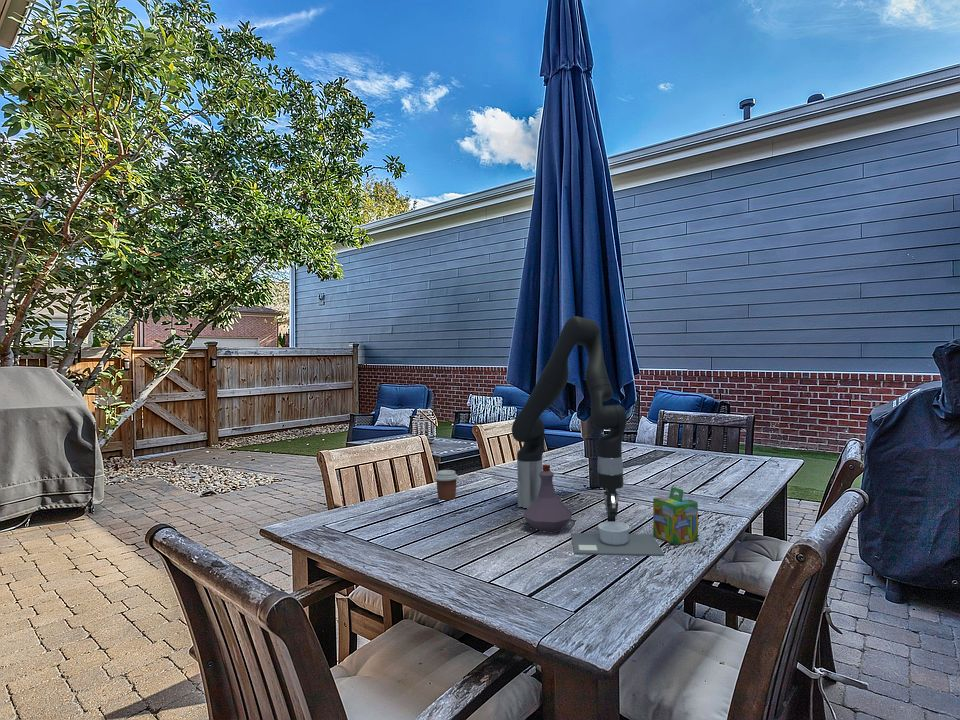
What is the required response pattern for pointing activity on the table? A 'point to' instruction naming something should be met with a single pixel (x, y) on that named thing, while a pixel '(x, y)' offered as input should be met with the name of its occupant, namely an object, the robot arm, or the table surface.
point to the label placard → (634, 546)
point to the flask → (547, 506)
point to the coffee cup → (446, 484)
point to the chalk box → (675, 518)
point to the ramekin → (613, 532)
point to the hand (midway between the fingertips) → (611, 527)
